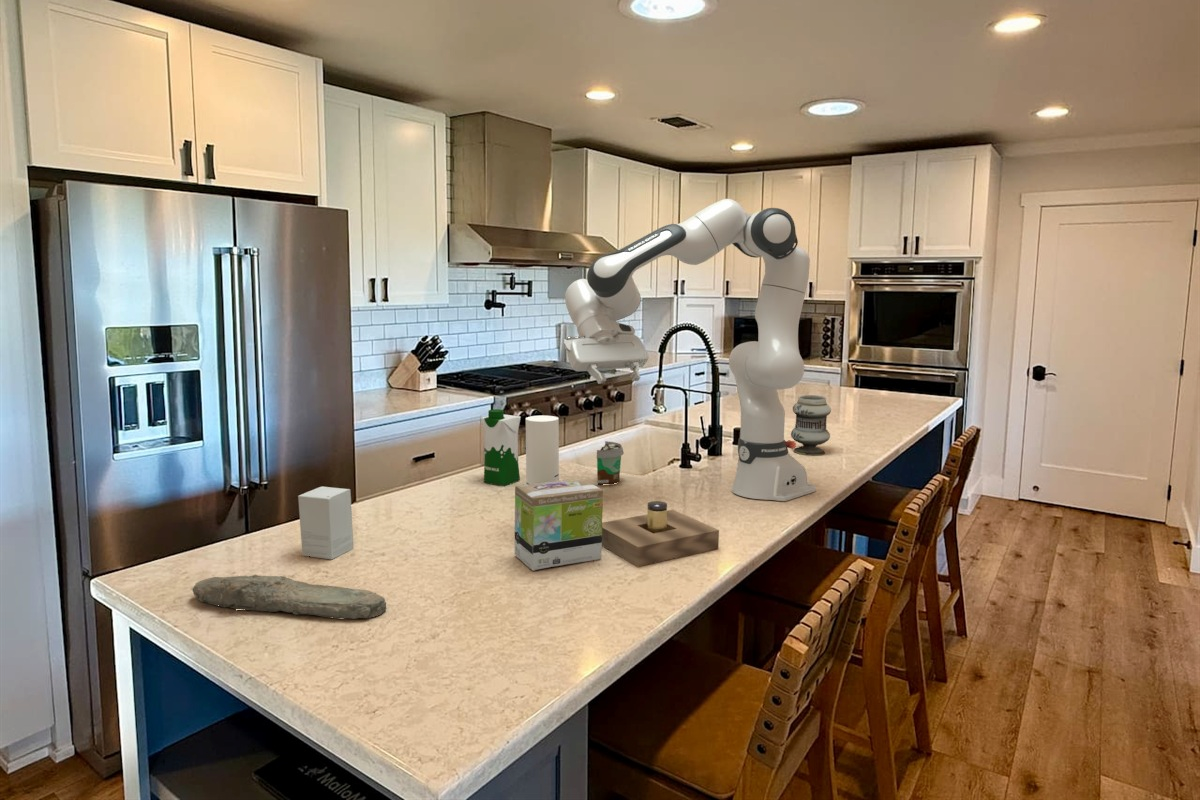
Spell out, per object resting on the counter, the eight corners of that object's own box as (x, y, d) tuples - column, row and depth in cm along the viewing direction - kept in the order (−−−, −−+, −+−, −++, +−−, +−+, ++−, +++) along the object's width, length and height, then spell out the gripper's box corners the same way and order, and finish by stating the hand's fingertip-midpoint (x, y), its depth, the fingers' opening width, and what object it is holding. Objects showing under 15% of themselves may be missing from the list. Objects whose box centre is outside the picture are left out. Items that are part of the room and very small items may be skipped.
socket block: (672, 526, 170) (672, 509, 170) (718, 548, 157) (719, 530, 156) (595, 542, 160) (595, 523, 159) (637, 566, 147) (637, 547, 146)
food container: (619, 488, 201) (619, 451, 199) (596, 487, 202) (596, 450, 200) (626, 476, 213) (627, 441, 211) (605, 475, 214) (605, 440, 212)
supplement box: (355, 548, 156) (352, 488, 154) (331, 560, 149) (327, 498, 147) (325, 543, 158) (322, 485, 156) (300, 556, 151) (296, 494, 149)
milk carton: (478, 482, 205) (477, 410, 202) (500, 475, 213) (499, 405, 210) (504, 487, 201) (502, 413, 198) (525, 480, 208) (524, 408, 205)
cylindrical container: (564, 526, 170) (564, 417, 166) (549, 536, 163) (548, 422, 159) (536, 522, 173) (536, 414, 169) (520, 531, 166) (519, 419, 162)
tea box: (533, 573, 143) (532, 497, 141) (513, 556, 152) (512, 484, 150) (603, 560, 150) (603, 487, 148) (581, 544, 159) (581, 475, 157)
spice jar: (658, 540, 161) (659, 499, 160) (669, 546, 158) (670, 504, 156) (643, 544, 159) (643, 502, 158) (654, 549, 156) (654, 507, 154)
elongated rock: (368, 637, 121) (396, 613, 131) (369, 605, 120) (397, 584, 130) (175, 606, 127) (216, 586, 137) (175, 576, 127) (216, 557, 136)
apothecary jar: (791, 455, 239) (794, 399, 236) (788, 447, 251) (791, 393, 248) (831, 457, 237) (834, 400, 234) (826, 448, 249) (829, 394, 246)
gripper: (565, 328, 176) (586, 375, 170) (638, 326, 187) (660, 370, 180) (556, 346, 181) (576, 392, 174) (628, 343, 191) (650, 386, 184)
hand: (620, 380), depth 177 cm, fingers open, 8 cm apart
